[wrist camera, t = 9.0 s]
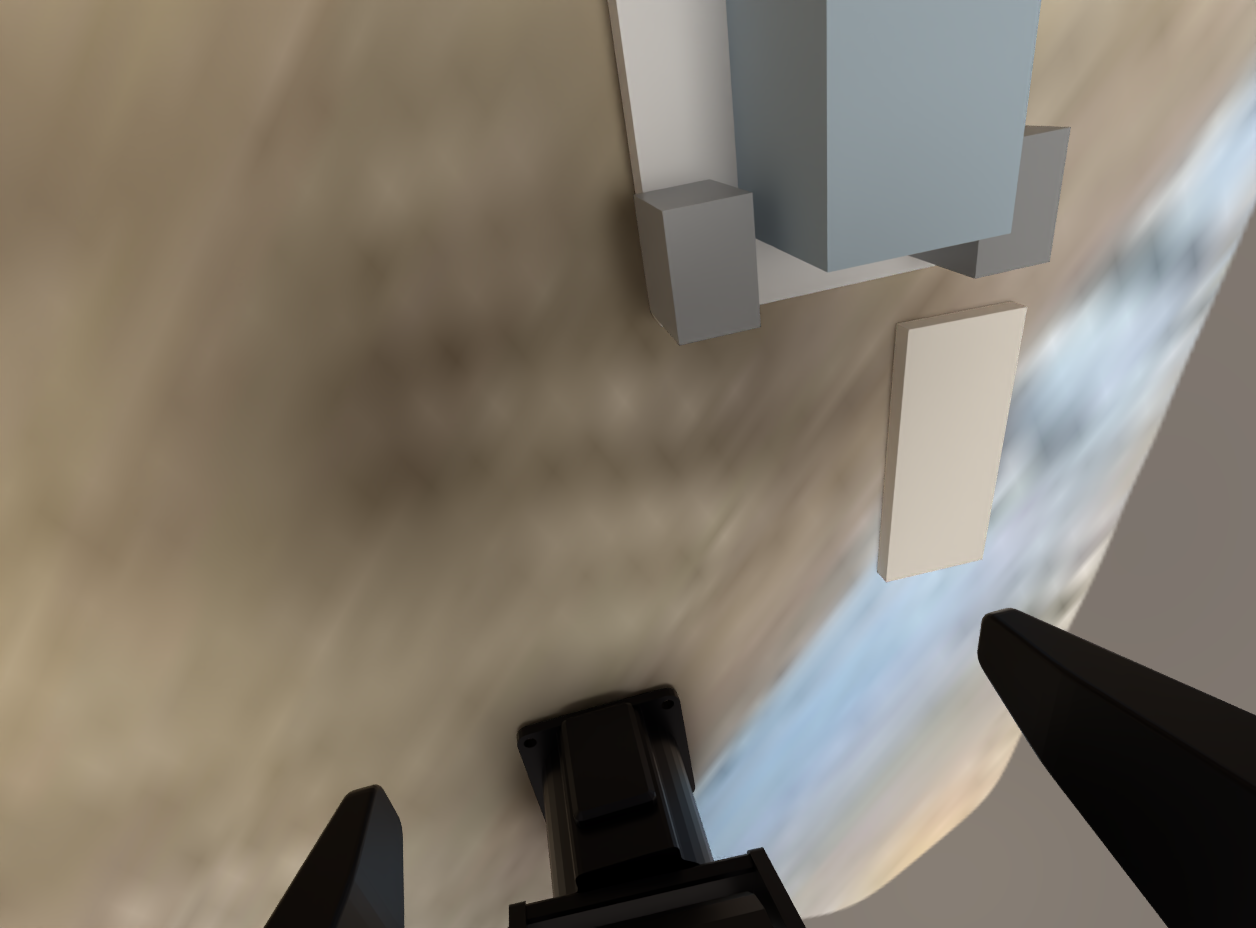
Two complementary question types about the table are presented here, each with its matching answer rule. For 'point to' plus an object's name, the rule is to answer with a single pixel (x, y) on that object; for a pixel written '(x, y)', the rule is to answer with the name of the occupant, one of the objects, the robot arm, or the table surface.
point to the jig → (724, 215)
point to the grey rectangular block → (879, 122)
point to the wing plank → (946, 436)
